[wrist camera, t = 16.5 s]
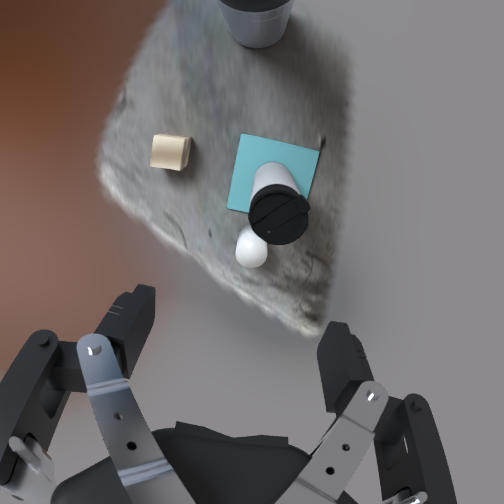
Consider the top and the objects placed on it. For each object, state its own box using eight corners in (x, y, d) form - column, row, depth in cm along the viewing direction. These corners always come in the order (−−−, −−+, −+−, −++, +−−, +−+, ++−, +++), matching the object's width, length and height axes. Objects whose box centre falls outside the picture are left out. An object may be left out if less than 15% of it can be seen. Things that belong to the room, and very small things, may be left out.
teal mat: (241, 133, 44) (241, 133, 44) (318, 151, 45) (319, 151, 45) (226, 207, 50) (226, 208, 49) (299, 222, 51) (300, 223, 50)
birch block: (164, 133, 44) (154, 135, 40) (192, 137, 45) (184, 139, 40) (160, 161, 47) (149, 166, 42) (187, 165, 47) (179, 170, 42)
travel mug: (300, 183, 47) (323, 226, 29) (268, 204, 49) (270, 259, 31) (278, 152, 45) (289, 176, 27) (246, 175, 47) (234, 213, 29)
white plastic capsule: (241, 221, 51) (238, 236, 45) (269, 226, 51) (270, 242, 45) (236, 246, 53) (233, 264, 47) (263, 251, 54) (263, 270, 47)
